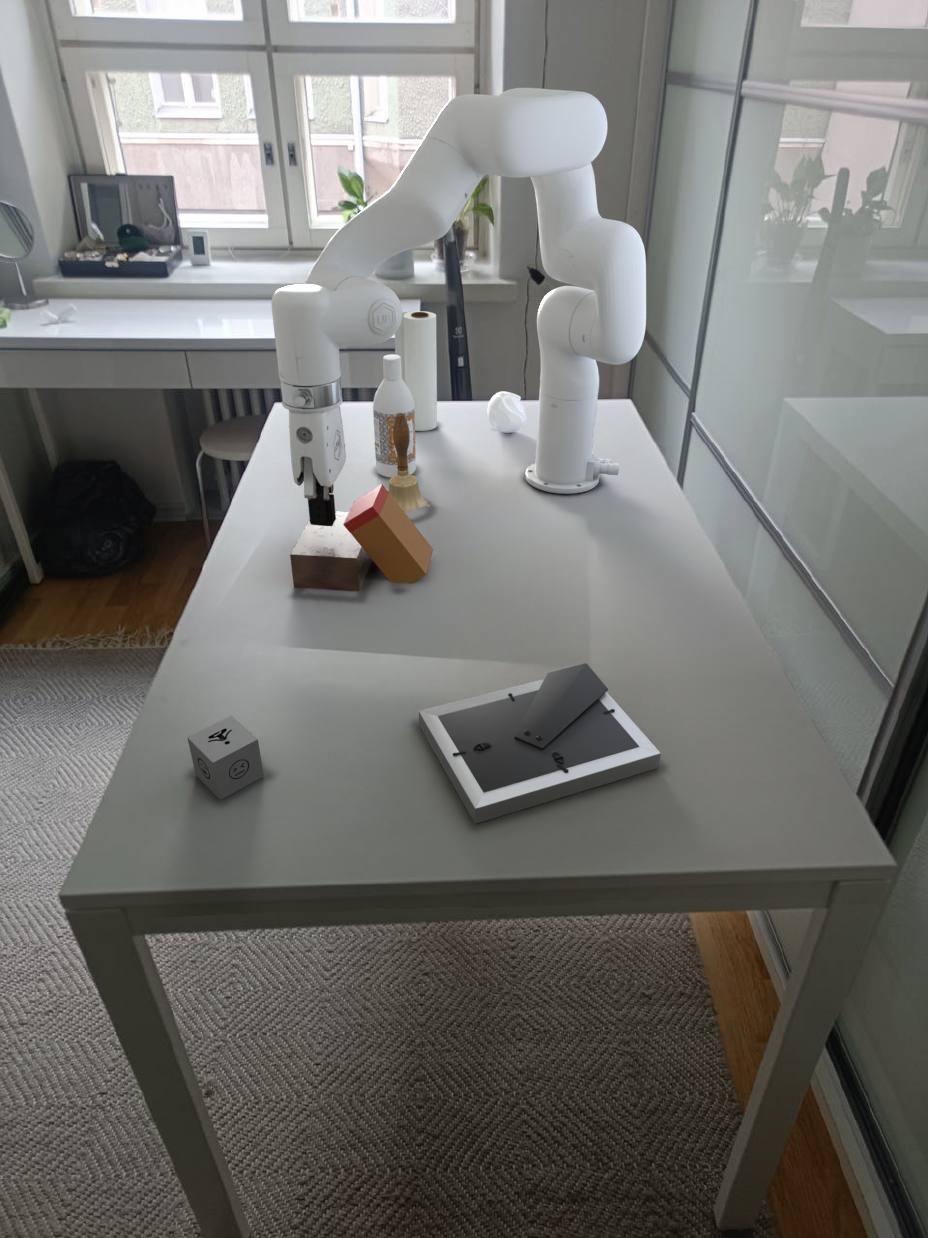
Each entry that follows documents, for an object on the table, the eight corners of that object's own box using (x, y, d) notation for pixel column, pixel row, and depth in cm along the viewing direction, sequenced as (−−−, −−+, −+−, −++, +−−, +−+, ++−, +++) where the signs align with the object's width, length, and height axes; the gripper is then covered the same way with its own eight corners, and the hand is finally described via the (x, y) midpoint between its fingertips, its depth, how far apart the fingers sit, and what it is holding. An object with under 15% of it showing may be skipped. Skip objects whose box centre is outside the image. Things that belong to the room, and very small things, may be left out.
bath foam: (388, 482, 149) (383, 365, 138) (369, 468, 154) (362, 354, 143) (423, 473, 152) (421, 358, 141) (403, 459, 157) (399, 348, 146)
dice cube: (238, 751, 92) (231, 715, 90) (263, 776, 89) (257, 739, 87) (195, 774, 90) (187, 737, 87) (220, 800, 87) (212, 762, 84)
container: (433, 566, 125) (432, 485, 118) (426, 592, 119) (424, 508, 112) (358, 562, 126) (352, 482, 119) (348, 587, 120) (341, 504, 113)
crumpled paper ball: (526, 439, 165) (528, 399, 161) (486, 438, 166) (487, 399, 161) (525, 424, 172) (527, 385, 168) (487, 423, 172) (488, 384, 168)
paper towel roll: (443, 427, 170) (442, 315, 158) (417, 434, 167) (414, 320, 155) (423, 416, 175) (421, 306, 163) (397, 422, 172) (393, 311, 160)
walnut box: (378, 553, 128) (375, 513, 125) (359, 600, 118) (357, 558, 114) (318, 549, 129) (314, 510, 125) (294, 596, 118) (289, 554, 115)
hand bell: (370, 516, 138) (364, 420, 129) (391, 495, 145) (387, 402, 136) (418, 525, 136) (416, 427, 127) (438, 503, 142) (437, 408, 133)
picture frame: (584, 682, 103) (418, 725, 96) (586, 662, 101) (418, 705, 95) (658, 768, 91) (474, 824, 84) (661, 747, 89) (475, 803, 83)
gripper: (326, 413, 102) (337, 551, 112) (353, 373, 115) (361, 500, 125) (264, 410, 103) (280, 547, 113) (298, 371, 115) (310, 497, 126)
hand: (323, 522), depth 119 cm, fingers closed
